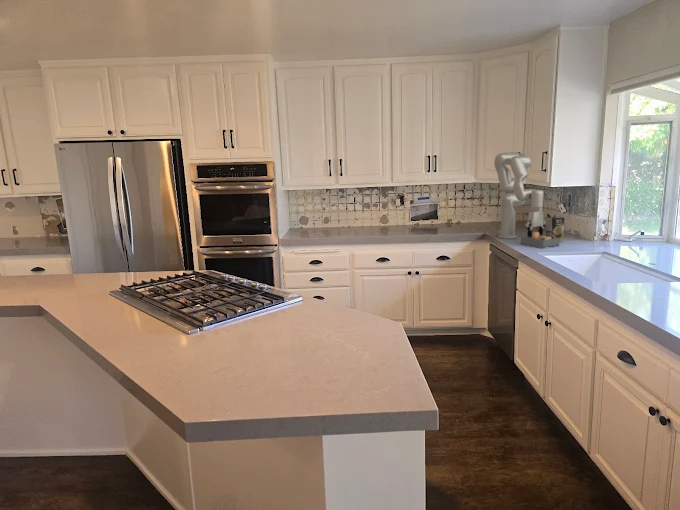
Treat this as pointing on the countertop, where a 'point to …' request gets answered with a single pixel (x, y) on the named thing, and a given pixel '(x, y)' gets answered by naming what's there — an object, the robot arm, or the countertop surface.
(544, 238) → the maple cube
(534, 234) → the terracotta cylinder
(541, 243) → the tote
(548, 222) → the coffee box
